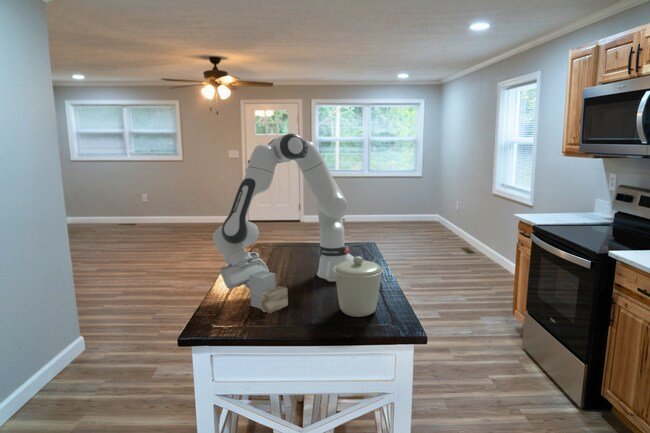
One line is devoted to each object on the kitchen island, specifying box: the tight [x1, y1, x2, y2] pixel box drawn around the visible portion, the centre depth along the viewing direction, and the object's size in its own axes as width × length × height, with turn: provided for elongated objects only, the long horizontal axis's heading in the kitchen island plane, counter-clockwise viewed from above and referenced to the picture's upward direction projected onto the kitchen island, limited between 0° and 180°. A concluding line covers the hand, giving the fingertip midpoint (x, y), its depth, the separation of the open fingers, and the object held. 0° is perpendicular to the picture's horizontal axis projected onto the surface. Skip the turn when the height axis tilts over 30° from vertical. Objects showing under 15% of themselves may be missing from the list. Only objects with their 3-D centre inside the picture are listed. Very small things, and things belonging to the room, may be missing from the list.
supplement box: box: [249, 270, 277, 310], centre depth 164 cm, size 7×7×13 cm
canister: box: [333, 255, 384, 318], centre depth 156 cm, size 18×18×21 cm
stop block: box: [261, 285, 289, 314], centre depth 161 cm, size 4×10×7 cm, turn 143°
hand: (256, 290), depth 167 cm, fingers closed, pressing on supplement box
